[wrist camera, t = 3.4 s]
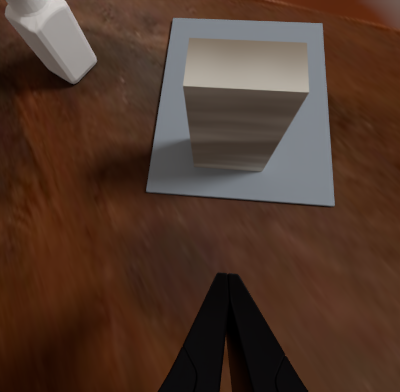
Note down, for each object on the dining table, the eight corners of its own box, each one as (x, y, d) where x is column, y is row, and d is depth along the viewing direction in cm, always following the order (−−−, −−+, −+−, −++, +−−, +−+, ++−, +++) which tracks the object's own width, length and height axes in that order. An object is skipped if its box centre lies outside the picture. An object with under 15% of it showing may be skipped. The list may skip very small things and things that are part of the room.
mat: (332, 206, 20) (334, 205, 20) (146, 192, 21) (146, 191, 21) (320, 26, 25) (322, 23, 25) (173, 20, 26) (173, 17, 26)
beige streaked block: (262, 171, 21) (309, 92, 11) (194, 167, 21) (182, 86, 11) (262, 141, 22) (306, 42, 12) (197, 136, 22) (189, 37, 12)
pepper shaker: (101, 62, 25) (40, -54, 16) (75, 88, 24) (-5, -18, 15) (73, 46, 26) (0, -74, 17) (47, 71, 25) (-45, -40, 16)
